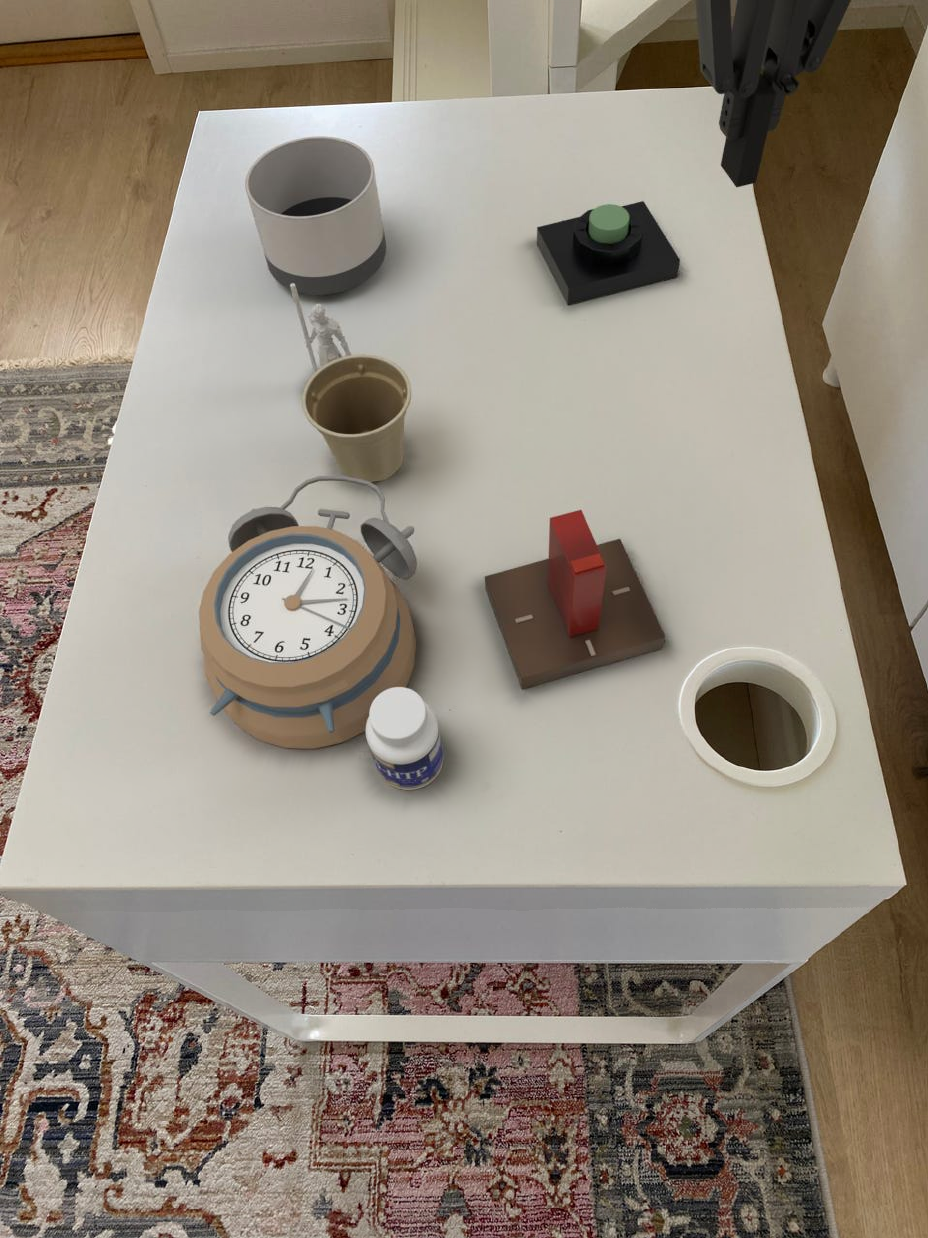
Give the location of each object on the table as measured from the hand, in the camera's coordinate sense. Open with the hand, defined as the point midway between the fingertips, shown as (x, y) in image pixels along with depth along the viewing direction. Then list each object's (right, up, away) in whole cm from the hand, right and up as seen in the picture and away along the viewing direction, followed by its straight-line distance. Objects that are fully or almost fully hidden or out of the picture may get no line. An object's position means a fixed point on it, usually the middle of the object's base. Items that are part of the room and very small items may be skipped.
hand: (738, 173), depth 67 cm
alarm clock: (-32, -33, +12) cm, 47 cm away
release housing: (-5, +6, +32) cm, 33 cm away
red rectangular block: (-11, -31, +9) cm, 34 cm away
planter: (-34, +6, +35) cm, 49 cm away
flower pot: (-28, -17, +21) cm, 39 cm away
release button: (-5, +8, +29) cm, 30 cm away
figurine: (-32, -9, +25) cm, 42 cm away
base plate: (-11, -32, +11) cm, 35 cm away
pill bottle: (-24, -43, +5) cm, 49 cm away
